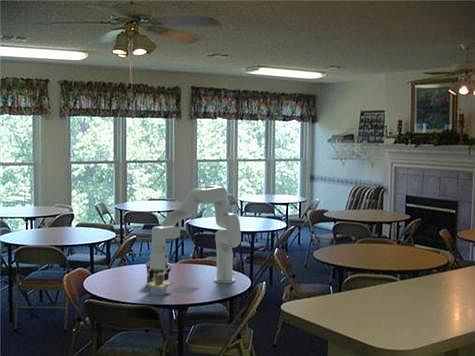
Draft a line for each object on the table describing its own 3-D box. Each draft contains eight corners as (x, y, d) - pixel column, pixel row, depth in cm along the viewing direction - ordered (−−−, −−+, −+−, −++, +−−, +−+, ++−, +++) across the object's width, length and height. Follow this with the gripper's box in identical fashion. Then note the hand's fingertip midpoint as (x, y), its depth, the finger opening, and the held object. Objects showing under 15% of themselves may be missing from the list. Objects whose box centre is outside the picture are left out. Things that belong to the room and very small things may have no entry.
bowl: (156, 290, 322) (156, 282, 321) (170, 292, 318) (170, 284, 317) (147, 294, 313) (147, 286, 313) (161, 296, 310) (161, 288, 309)
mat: (181, 286, 330) (181, 285, 330) (199, 288, 325) (199, 288, 325) (170, 291, 319) (170, 290, 319) (189, 294, 314) (189, 293, 314)
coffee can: (165, 286, 331) (165, 262, 329) (147, 287, 328) (147, 263, 327) (163, 281, 340) (163, 258, 339) (145, 282, 338) (145, 259, 337)
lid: (156, 281, 323) (156, 271, 322) (172, 284, 318) (172, 273, 317) (145, 286, 313) (145, 275, 312) (162, 288, 308) (162, 277, 308)
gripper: (175, 248, 313) (175, 279, 315) (149, 246, 321) (149, 275, 322) (168, 251, 307) (168, 282, 308) (141, 248, 314) (142, 278, 315)
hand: (158, 279), depth 315 cm, fingers open, 9 cm apart
